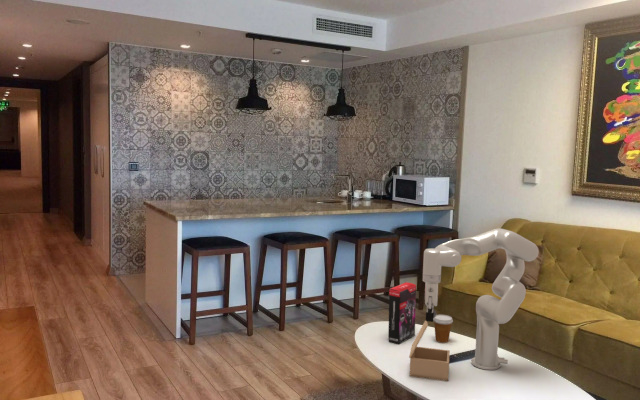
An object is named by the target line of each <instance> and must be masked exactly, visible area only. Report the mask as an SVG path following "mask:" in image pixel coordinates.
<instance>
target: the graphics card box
mask: <svg viewBox="0 0 640 400" xmlns="http://www.w3.org/2000/svg"><path fill="white" fill-rule="evenodd" d="M388 291H389V293H388V296H389V298H388V336H387V337H388V339H387V340H388V342H389V343H392V344H396V345H400V344H402V343H404V342H406V341H407V340H408V339H411V338H412V337H414V336H415V335H416V308H417V307H416V306H417V304H416V303H417V301H416V300H417V284H415V283H412V282H407V281H405V282H403V283H401V284H398V285H396V286H393V287H390V288H389V290H388Z"/></svg>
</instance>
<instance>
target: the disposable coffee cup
mask: <svg viewBox="0 0 640 400" xmlns="http://www.w3.org/2000/svg"><path fill="white" fill-rule="evenodd" d="M453 322H454V320H453V317H452V316H451V315H447V314H436V317H435V318H434V319H433V324H434V335H435V339H434V340H435V341H436V342H437V343H441V344H445V343H448V342H449V339H450V334H451V328H452V324H453Z"/></svg>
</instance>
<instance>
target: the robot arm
mask: <svg viewBox="0 0 640 400" xmlns="http://www.w3.org/2000/svg"><path fill="white" fill-rule="evenodd" d="M498 249H500V250H501V249H502V250H504V251H505V255H506V262H505V264H504V267H503V268H502V270H501V271H500V273H499V274H498V275H497V277H496V278H495V280H494V282H492V286H491V290H492V293H493V294H494V295H496V296H497V297H499V298H497V297H495V296H493V295H490V294H484V295H481V296H479V297H478V298H477V301H476V304H475V312H476V322H477V323H476V332H475V333H476V335H475V336H476V337H475V348H474V349H475V351H474V353H475V354H474V357H472V358H471V360H470V363H471V365H472V366H474V367H476V368H478V369H481V370H487V371H488V370H489V371H494V370H498V369H499V368H500V367H501V364H505V365H508V364H509V360H508V359H506V358H505V357H500V356H499V354H498V352H499V351H498V349H499V348H498V347H499V335H500V334H499V333H500V325H503V324H507V323H508V322H509V321H510V320H511V319H512V318H513V316H514V315H515V314H516V312H518V309H519V308H520V306H521V305H522V303H523V302H524V300H525V298H526V293H527V290H526V287H525V285H524V284H523V283H522V282H521V281H520V280H521V279H522V276H523V275H524V273H525V269H526V267H525V264H526V263H525V262H532V261H535V260H536V259H537V258H538V256H539V252H540V251H539V247H538V246H537V245H536V243H534V242H532V241H530V240H529V239H528V238H525V237H523V236H522V235H520V234H518V233H517V232H515V231H512V230H509V229H505V228H501V227H499V228H494V229H490V230H488V231H485V232H483V233H482V232H481V233H479V234H477V235H474V236H471V237H465V238H459V239H453V240H452V239H451V240H449V241H446V242H444V243H441V244H439V245H437V246H436V247H435V248H433V247H432V248H425V249H424V251H423V264H422V265H423V266H422V282H424V283H425V286H424V303H425V306H426V311H425V320H426V321H428V323H429V322H432V323H434V320H433V319H434V312H433V309H434V310H435V307H437V306H438V299H439V297H438V296H439V284H440V283H441V278H442V267H448V268H454V267H457V266H459V265H460V264H461V262H462V256H473V257H474V256H477V257H478V256H482V255H485V254H488V253H490V252H493V251H495V250H498ZM500 298H501V299H500Z"/></svg>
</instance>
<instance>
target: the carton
mask: <svg viewBox="0 0 640 400" xmlns="http://www.w3.org/2000/svg"><path fill="white" fill-rule="evenodd" d="M450 351H451V350H448V349H440V348H430V347H424V346H417V347H416V349H415V350H414V352H413V354H412V356H411V358H409V359H410V360H409V361H410V362H409V377H413V378H421V379H426V380H427V379H428V380H435V381H444V382H448V381H449V373H450V371H449V370H450V356H451V355H450Z"/></svg>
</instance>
